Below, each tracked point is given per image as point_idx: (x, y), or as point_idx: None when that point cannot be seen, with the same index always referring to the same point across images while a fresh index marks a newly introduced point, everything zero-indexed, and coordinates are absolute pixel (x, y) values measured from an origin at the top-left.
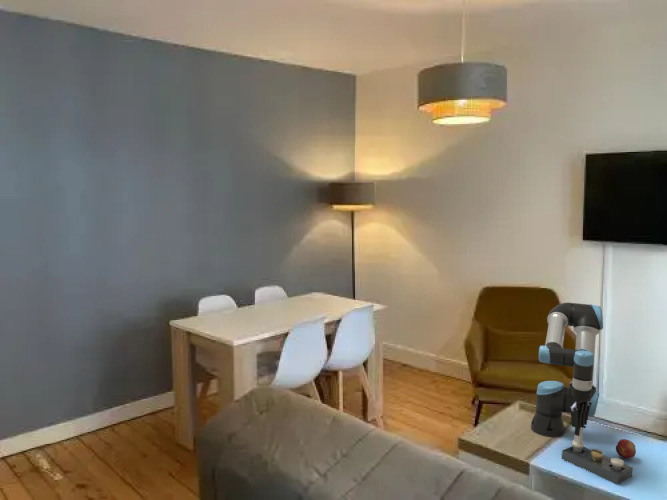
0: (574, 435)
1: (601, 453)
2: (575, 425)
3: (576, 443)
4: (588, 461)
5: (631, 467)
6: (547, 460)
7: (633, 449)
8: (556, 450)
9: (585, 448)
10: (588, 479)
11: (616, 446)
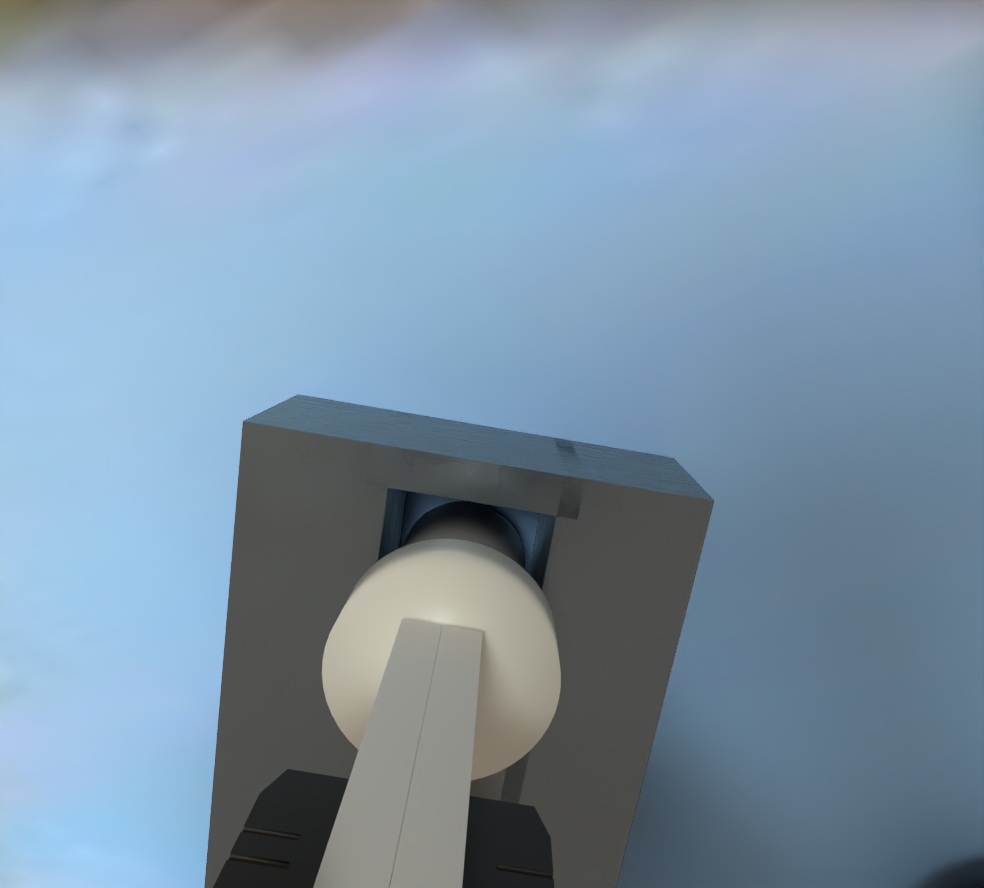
0: (374, 702)
1: None
2: None
3: (368, 675)
4: (216, 841)
5: None
6: (87, 267)
7: None
8: (517, 207)
9: (633, 662)
10: (78, 814)
11: None
